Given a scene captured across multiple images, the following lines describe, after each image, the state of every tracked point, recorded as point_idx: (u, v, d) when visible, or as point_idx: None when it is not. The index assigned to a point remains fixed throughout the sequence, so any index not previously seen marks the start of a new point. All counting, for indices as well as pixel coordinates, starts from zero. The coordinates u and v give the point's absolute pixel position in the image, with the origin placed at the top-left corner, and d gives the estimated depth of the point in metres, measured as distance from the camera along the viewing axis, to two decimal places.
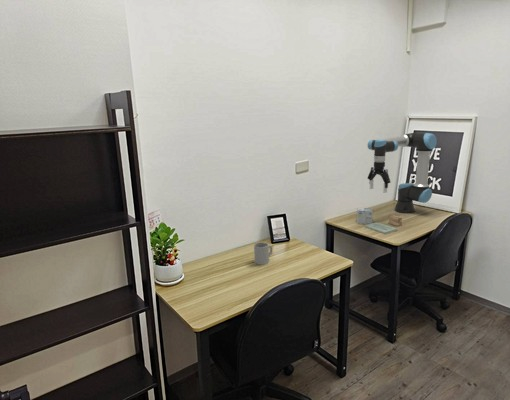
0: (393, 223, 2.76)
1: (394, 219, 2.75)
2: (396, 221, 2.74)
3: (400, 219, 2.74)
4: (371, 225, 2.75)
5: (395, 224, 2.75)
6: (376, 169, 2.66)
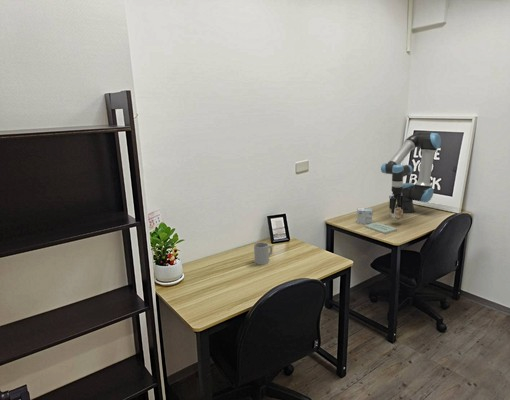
0: None
1: (395, 211, 2.74)
2: (397, 213, 2.72)
3: (401, 211, 2.73)
4: (371, 225, 2.75)
5: (396, 216, 2.74)
6: None
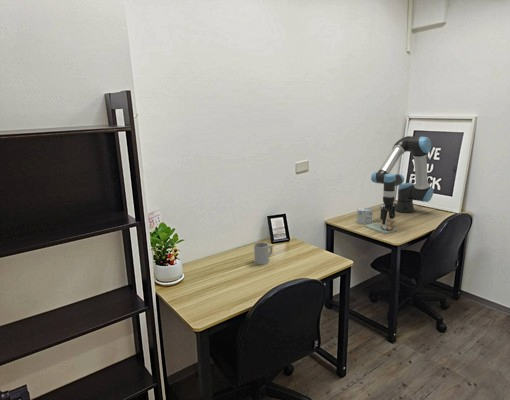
0: None
1: None
2: (388, 225, 2.61)
3: (392, 223, 2.61)
4: (371, 225, 2.75)
5: (387, 228, 2.62)
6: None
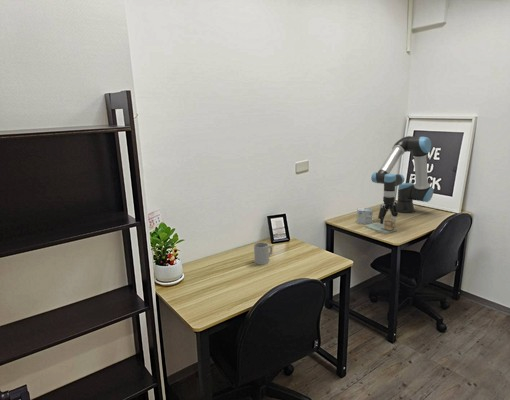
0: (385, 227, 2.63)
1: (386, 223, 2.62)
2: (388, 225, 2.61)
3: (393, 223, 2.61)
4: (371, 225, 2.75)
5: (387, 228, 2.62)
6: None
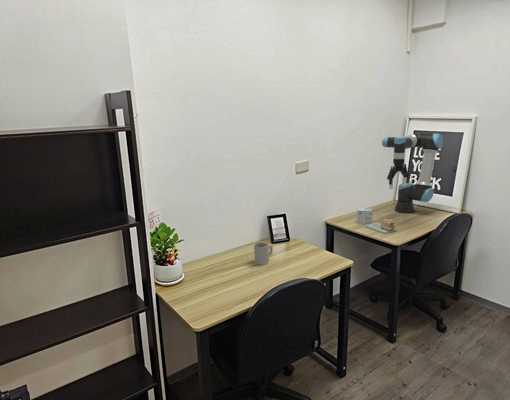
0: (385, 227, 2.63)
1: (386, 223, 2.62)
2: (388, 225, 2.61)
3: (393, 223, 2.61)
4: (371, 225, 2.75)
5: (387, 228, 2.62)
6: None
